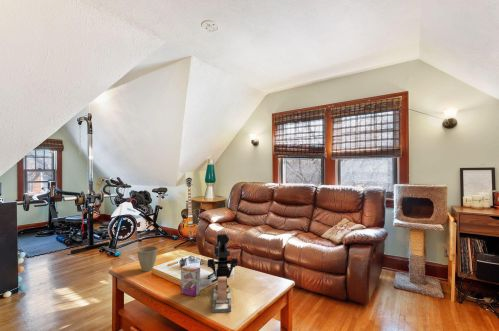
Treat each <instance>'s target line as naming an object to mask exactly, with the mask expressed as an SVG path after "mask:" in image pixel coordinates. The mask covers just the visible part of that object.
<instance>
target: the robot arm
mask: <svg viewBox="0 0 499 331" xmlns="http://www.w3.org/2000/svg"><path fill="white" fill-rule="evenodd" d="M215 237H216V238H215V240H216V243H215V244H214V246H213V255H214V257H215V258H217V260H215V259H214V258H208V259H207V268H209V269H212V272H213V274H214V275H213V276H214V277H215V278H216V280H218V277H227V279H230V277H231V275H232V273H233V272H232V271H233V269H234V268H236V267H237V266H238V265H239V259H238V258H236V257H235V258H234V257H233V258H231V259H230V260H228V257H230V255H231V253H230V250H228V245H229V241H230V237H229V236H228V235H227V233H222V234H221V233H219V234H217V235H216V236H215ZM216 265H217V266H216ZM229 265H230V266H229ZM215 287H217V288H218V284H215ZM227 288H230V285H228V284H227Z"/></svg>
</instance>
